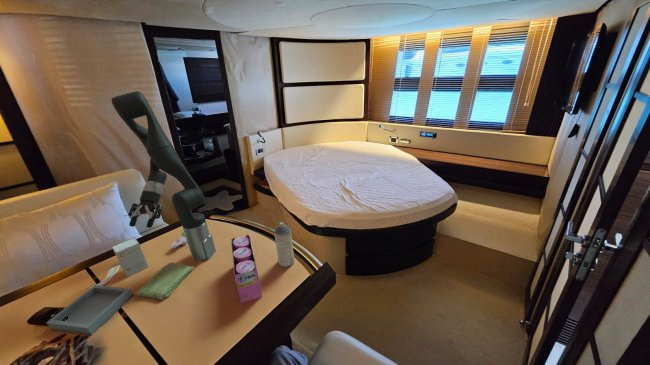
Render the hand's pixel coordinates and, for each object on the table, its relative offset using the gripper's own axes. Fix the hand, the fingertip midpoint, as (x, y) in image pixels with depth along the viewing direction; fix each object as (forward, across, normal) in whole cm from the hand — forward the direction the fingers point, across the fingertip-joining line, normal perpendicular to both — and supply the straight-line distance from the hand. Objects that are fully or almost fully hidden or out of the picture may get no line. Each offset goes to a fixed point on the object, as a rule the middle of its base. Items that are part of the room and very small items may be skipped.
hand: (140, 226), depth 109 cm
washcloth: (+21, +20, +2) cm, 29 cm away
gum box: (+18, +52, +5) cm, 56 cm away
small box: (+18, 0, +5) cm, 18 cm away
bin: (+32, +4, -10) cm, 34 cm away
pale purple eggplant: (+4, +9, +19) cm, 21 cm away
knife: (+23, -9, +1) cm, 25 cm away
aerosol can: (+9, +65, +13) cm, 67 cm away
